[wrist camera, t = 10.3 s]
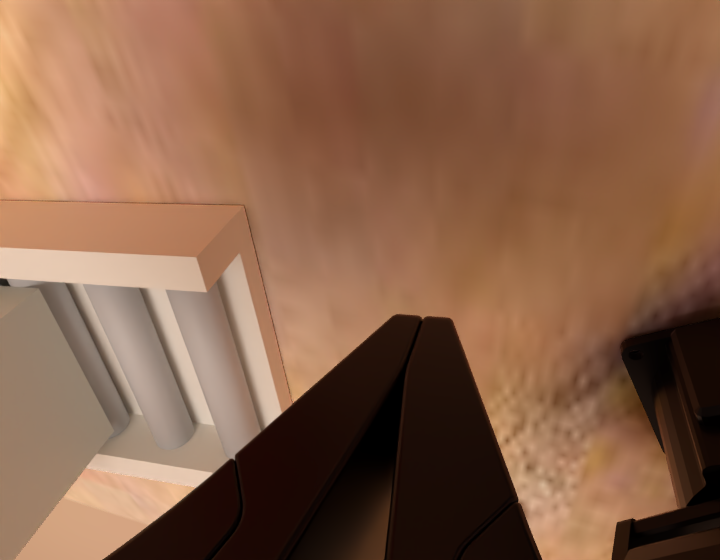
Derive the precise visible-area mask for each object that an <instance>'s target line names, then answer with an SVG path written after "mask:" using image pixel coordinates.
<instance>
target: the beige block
mask: <svg viewBox="0 0 720 560" xmlns="http://www.w3.org/2000/svg"><path fill="white" fill-rule="evenodd" d="M113 432H114V430H113V428H112V426H111V424H110V422H109V420H108V418H107V416H106V415H105V413H104V411H103V409H102V407H101V405H100V403H99V401H98V399H97V398H96V396H95V394H94V392H93V390H92V388H91V386H90V384H89V382H88V381H87V379H86V377H85V375H84V373H83V371H82V369H81V367H80V365H79V364H78V362H77V360H76V358H75V356H74V354H73V352H72V350H71V348H70V347H69V345H68V343H67V341H66V339H65V337H64V335H63V333H62V331H61V329H60V328H59V326H58V324H57V322H56V320H55V318H54V316H53V314H52V312H51V311H50V309H49V307H48V305H47V303H46V301H45V299H44V297H43V295H42V294H41V292H40V290H39V288H25V287H9V286H0V560H14V559H15V558H16V557H17V555H18V554H19V553H20V552H21V550H22V549H23V548H24V546H25V545H26V544H27V542H28V541H29V540H30V539H31V537H32V536H33V535H34V534H35V532H36V531H37V530H38V528H39V527H40V526H41V525H42V523H43V522H44V521H45V519H46V518H47V517H48V516H49V514H50V513H51V512H52V510H53V509H54V508H55V506H56V505H57V504H58V503H59V501H60V500H61V499H62V498H63V496H64V495H65V494H66V492H67V491H68V490H69V489H70V487H71V486H72V485H73V483H74V482H75V481H76V480H77V478H78V477H79V476H80V474H81V473H82V472H83V471H84V469H85V468H86V467H87V465H88V464H89V463H90V462H91V460H92V459H93V458H94V456H95V455H96V454H97V453H98V451H99V450H100V449H101V447H102V446H103V445H104V443H105V442H106V441H107V440H108V438H109V437H110V436H111V434H112V433H113Z"/></svg>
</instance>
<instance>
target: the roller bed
mask: <svg viewBox="0 0 720 560" xmlns="http://www.w3.org/2000/svg"><path fill="white" fill-rule="evenodd" d="M0 286H9V287H25V288H39V290H40V292H41V294H42V295H43V297H44V299H45V301H46V303H47V305H48V307H49V309H50V311H51V312H52V314H53V316H54V318H55V320H56V322H57V324H58V326H59V328H60V329H61V331H62V333H63V335H64V337H65V339H66V341H67V343H68V345H69V347H70V348H71V350H72V352H73V354H74V356H75V358H76V360H77V362H78V364H79V365H80V367H81V369H82V371H83V373H84V375H85V377H86V379H87V381H88V382H89V384H90V386H91V388H92V390H93V392H94V394H95V396H96V398H97V399H98V401H99V403H100V405H101V407H102V409H103V411H104V413H105V415H106V416H107V418H108V420H109V422H110V424H111V426H112V428H113V430H114V432H113V433H112V434H111V436H110V437H109V438H108V440H107V441H106V442H105V443H104V445H103V446H102V447H101V449H100V450H99V451H98V453H97V454H96V455H95V456H94V458H93V459H92V460H91V462H90V463H89V464H88V465H87V467H86V468H87V469H93V470H99V471H104V472H110V473H116V474H121V475H127V476H133V477H139V478H144V479H150V480H156V481H161V482H167V483H173V484H179V485H184V486H190V487H198V486H199V485H200V484H201V483H202V482H204V481H205V480H206V479H207V478H208V477H209V476H211V475H212V474H213V473H214V472H215V471H216V470H217V469H219V468H220V467H221V466H222V465H223V464H224V463H225V462H227V461H228V460H229V459H231V458H232V459H234V460H235V454H236V453H237V452H238V451H239V450H241V449H242V448H243V447H244V446H245V445H246V444H247V443H249V442H250V441H251V440H252V439H253V438H254V437H255V436H257V435H258V434H259V433H260V432H261V431H262V430H263V429H265V428H266V427H267V426H268V425H269V424H270V423H271V422H272V421H274V420H275V419H276V418H277V417H278V416H279V415H280V414H282V413H283V412H284V411H285V410H286V409H287V408H288V407H290V406H291V405H292V401H291V397H290V393H289V389H288V385H287V381H286V376H285V372H284V368H283V364H282V360H281V356H280V352H279V348H278V344H277V339H276V335H275V331H274V327H273V323H272V319H271V315H270V311H269V307H268V302H267V298H266V294H265V290H264V286H263V282H262V278H261V274H260V270H259V265H258V261H257V257H256V253H255V249H254V245H253V241H252V237H251V233H250V228H249V224H248V220H247V216H246V212H245V208H244V206H241V205H195V204H149V203H103V202H56V201H10V200H0Z"/></svg>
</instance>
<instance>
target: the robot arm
mask: <svg viewBox="0 0 720 560" xmlns="http://www.w3.org/2000/svg"><path fill="white" fill-rule="evenodd" d="M620 350H621V355H622V359H623V361H624V364H625V366H626V368H627V371H628V373H629V375H630V377H631V380H632V382H633V384H634V386H635V389H636V391H637V393H638V396H639V398H640V400H641V402H642V405H643V407H644V409H645V411H646V414H647V416H648V418H649V421H650V423H651V425H652V427H653V430H654V432H655V434H656V436H657V439H658V441H659V443H660V446H661V448H662V450H663V452H664V453H665V455H666V459H667V463H668V468H669V472H670V476H671V480H672V485H673V489H674V493H675V497H676V502H677V506H678V509H676V510H673V511H669V512H665V513H662V514H658V515H654V516H651V517H647V518H643V519H640V520H635V519H633V518H632V519H628V520H624V521H621V522H617V525H616V532H615V539H614V546H613V553H612V560H720V318H716V319H712V320H708V321H703V322H699V323H695V324H691V325H686V326H682V327H678V328H674V329H669V330H665V331H661V332H657V333H652V334H648V335H644V336H640V337H635V338H631V339H628V340H626V341H624V342H623V343H622V344H621V347H620ZM633 350H639V351H640V352H638V353H631V351H633ZM103 560H542V558H541V555H540V553H539V550H538V548H537V545H536V543H535V541H534V538H533V536H532V533H531V530H530V528H529V525H528V522H527V520H526V517H525V514H524V512H523V509H522V506H521V504H520V503H518V496H517V494H516V491H515V488H514V485H513V483H512V480H511V477H510V475H509V472H508V469H507V466H506V464H505V461H504V458H503V456H502V453H501V450H500V447H499V445H498V442H497V439H496V437H495V434H494V431H493V428H492V426H491V423H490V420H489V417H488V415H487V412H486V409H485V407H484V404H483V401H482V398H481V396H480V393H479V390H478V388H477V385H476V382H475V379H474V377H473V374H472V371H471V369H470V366H469V363H468V360H467V358H466V355H465V352H464V350H463V347H462V344H461V341H460V339H459V336H458V333H457V331H456V328H455V325H454V322H453V321H452V319H450V318H446V317H432V316H427V317H425V318H424V319H422V317H420V316H418V315H404V314H396V315H394V316H392V317H391V318H390V319H389V320H388V321H387V322H385V323H384V324H383V325H382V326H381V327H380V328H379V329H377V330H376V331H375V332H374V333H373V334H372V335H371V336H369V337H368V338H367V339H366V340H365V341H364V342H363V343H361V344H360V345H359V346H358V347H357V348H356V349H355V350H353V351H352V352H351V353H350V354H349V355H348V356H347V357H345V358H344V359H343V360H342V361H341V362H340V363H339V364H337V365H336V366H335V367H334V368H333V369H332V370H331V371H329V372H328V373H327V374H326V375H325V376H324V377H323V378H322V379H320V380H319V381H318V382H317V383H316V384H315V385H314V386H312V387H311V388H310V389H309V390H308V391H307V392H306V393H304V394H303V395H302V396H301V397H300V398H299V399H298V400H296V401H295V402H294V403H293V404H292V405H291V406H290V407H288V408H287V409H286V410H285V411H284V412H283V413H282V414H280V415H279V416H278V417H277V418H276V419H275V420H274V421H272V422H271V423H270V424H269V425H268V426H267V427H266V428H265V429H263V430H262V431H261V432H260V433H259V434H258V435H257V436H255V437H254V438H253V439H252V440H251V441H250V442H249V443H247V444H246V445H245V446H244V447H243V448H242V449H241V450H239V451H238V452H237V453H236V454H235V460H234V459H232V458H231V459H229V460H228V461H227V462H225V463H224V464H223V465H222V466H221V467H220V468H219V469H217V470H216V471H215V472H214V473H213V474H212V475H211V476H209V477H208V478H207V479H206V480H205V481H204V482H202V483H201V484H200V485H199V486H198V487H196V488H195V489H194V490H193V491H192V492H190V493H189V494H188V495H187V496H186V497H184V498H183V499H182V500H181V501H180V502H178V503H177V504H176V505H175V506H174V507H172V508H171V509H170V510H168V511H167V512H166V513H164V514H163V515H162V516H160V517H159V518H158V519H157V520H155V521H154V522H153V523H151V524H150V525H149V526H147V527H146V528H145V529H144V530H142V531H141V532H140V533H138V534H137V535H136V536H134V537H133V538H132V539H130V540H129V541H128V542H126V543H125V544H124V545H122V546H121V547H120V548H118V549H117V550H115V551H114V552H113V553H111V554H110V555H108V556H107V557H106V558H104V559H103Z"/></svg>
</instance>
